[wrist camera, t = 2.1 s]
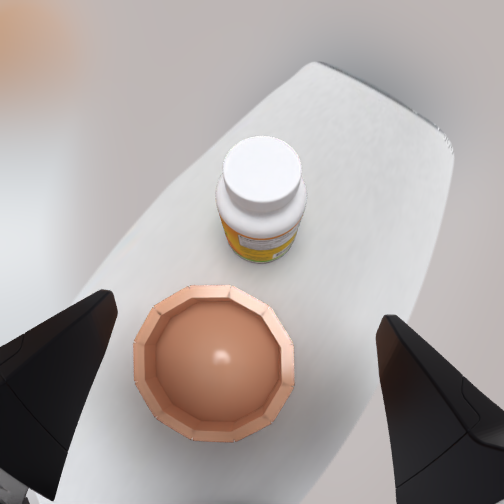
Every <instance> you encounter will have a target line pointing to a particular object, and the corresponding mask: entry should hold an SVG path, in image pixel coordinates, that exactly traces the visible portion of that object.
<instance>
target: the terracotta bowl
mask: <svg viewBox="0 0 504 504" xmlns="http://www.w3.org/2000/svg"><path fill="white" fill-rule="evenodd" d="M154 307H155V308H154ZM154 307H152V309H151V311H150V313H149V314H148V316H147V318H146V320H145V322H144V323H143V325H142V327H141V329H140V331H139V332H138V334H137V336H136V338H135V340H134V341H135V342H136V343H133V355H134V381H136V383H135V385H136V386H137V388H138V390H139V392H140V394H141V395H142V397H143V399H144V400H145V402H146V404H147V406H148V407H149V409H150V411H151V412H152V414H153V415H154V417H157V416H158V417H157V418H156V419H157V420H159V421H160V422H162V423H163V424H165V425H167V426H168V427H170V428H171V429H173V430H175V431H176V432H178V433H180V434H181V435H183V436H185V437H187V438H188V439H190V440H191V439H192V437H193V441H207V442H234V441H235V442H237V441H239V440H241V439H243V438H245V437H247V436H249V435H251V434H253V433H255V432H257V431H258V430H260V429H262V428H264V427H266V426H268V425H270V424H272V423H271V421H272V422H273V421H274V420H275V418H276V417H277V415H278V413H279V412H280V410H281V408H282V407H283V405H284V403H285V402H286V400H287V398H288V397H289V395H290V393H291V392H292V390H293V388H294V387H293V386H294V345H293V344H292V343H293V342H292V340H291V338H290V337H289V335H288V334H287V332H286V330H285V329H284V327H283V326H282V324H281V322H280V321H279V319H278V318H277V316H276V314H275V313H274V311H273V310H272V308H271V307H270V308H269V305H267V304H265V303H264V302H262V301H260V300H258V299H256V298H254V297H252V296H251V295H249V294H247V293H245V292H243V291H242V290H240V289H238V288H236V287H234V286H232V287H231V285H190V287H189V286H187V287H185V288H183V289H182V290H180V291H178V292H177V293H175V294H173V295H172V296H170V297H168V298H166V299H165V300H163V301H161V302H160V303H158V304H156V305H154ZM268 308H269V309H268Z"/></svg>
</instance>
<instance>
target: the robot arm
mask: <svg viewBox="0 0 504 504" xmlns="http://www.w3.org/2000/svg"><path fill="white" fill-rule="evenodd" d="M117 314H118V310H117V306H116V302H115V298H114V295H113V292H112V291H110V290H103V289H101V290H99V291H97V292H95V293H94V294H92V295H90V296H88V297H86V298H85V299H83V300H81V301H79V302H77V303H76V304H74V305H72V306H70V307H69V308H67V309H65V310H63V311H62V312H60V313H58V314H56V315H55V316H53V317H51V318H49V319H48V320H46V321H44V322H43V323H41V324H39V325H37V326H36V327H34V328H32V329H31V330H29V331H27V332H26V333H25V334H22V335H21V336H19V337H17V338H16V339H14V340H12V341H10V342H9V343H7V344H5V345H3V346H1V347H0V504H30V503H29V501H28V498H27V497H26V494H27V491H28V488H30V489H31V490H33V491H35V492H37V493H38V494H40V495H42V496H44V497H45V498H47V499H49V500H51V501H54V499H55V495H56V492H57V488H58V484H59V481H60V477H61V474H62V470H63V467H64V464H65V460H66V457H67V454H68V450H69V447H70V444H71V441H72V438H73V435H74V432H75V429H76V426H77V424H78V421H79V418H80V415H81V413H82V410H83V407H84V404H85V402H86V399H87V397H88V394H89V391H90V389H91V386H92V384H93V381H94V379H95V376H96V374H97V371H98V369H99V367H100V364H101V362H102V359H103V357H104V355H105V352H106V349H107V346H108V343H109V340H110V337H111V333H112V330H113V327H114V324H115V321H116V318H117ZM376 346H377V356H378V367H379V377H380V384H381V389H382V394H383V400H384V405H385V411H386V417H387V423H388V430H389V436H390V444H391V450H392V459H393V467H394V476H395V487H396V502H397V504H504V411H503V410H502V409H501V408H500V407H499V406H497V405H496V404H495V403H493V402H492V401H491V400H490V399H489V398H488V397H486V396H485V395H484V394H483V393H482V392H481V391H479V390H478V389H477V388H476V387H475V386H474V385H473V384H472V383H471V382H470V381H468V380H467V379H466V378H465V377H464V376H463V375H462V374H461V373H460V372H459V371H458V370H457V369H456V368H455V367H454V366H452V365H451V364H450V363H449V362H448V361H447V360H446V359H445V358H444V357H443V356H442V355H440V354H439V353H438V352H437V351H436V350H435V349H434V348H433V347H432V346H431V345H429V344H428V343H427V342H426V341H425V340H424V339H423V338H422V337H421V336H420V335H418V334H417V333H416V332H415V331H414V330H413V329H411V328H410V327H409V326H408V325H407V324H406V323H405V322H404V321H402V320H401V319H400V318H399V317H398V316H397V315H384V316H383V318H382V320H381V323H380V325H379V328H378V330H377V333H376Z"/></svg>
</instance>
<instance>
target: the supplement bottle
mask: <svg viewBox="0 0 504 504" xmlns="http://www.w3.org/2000/svg"><path fill="white" fill-rule="evenodd" d="M306 202H307V188H306V184H305V181H304V179H303V177H302V166H301V161H300V158H299V156H298V155H297V153H296V152H295V150H294V149H293V148H292V147H291V146H290V145H288V144H287V143H285V142H284V141H282V140H280V139H277V138H274V137H269V136H254V137H250V138H247V139H244V140H242V141H240V142H239V143H237V144H236V145H234V146H233V147H232V148H231V149H230V150H229V152H228V153H227V155H226V157H225V160H224V163H223V173H222V174H221V176H220V178H219V180H218V183H217V186H216V204H217V208H218V212H219V215H220V218H221V221H222V225H223V228H224V231H225V235H226V237H227V240H228V243H229V245H230V246H231V248H232V249H233V251H234V252H235V253H236V254H237V255H238V256H240V257H241V258H243V259H245V260H247V261H250V262H254V263H267V262H271V261H274V260H276V259H278V258H280V257H281V256H283V255H284V254H285V253H286V252H287V251H288V250H289V248H290V247H291V245H292V243H293V241H294V238H295V236H296V233H297V230H298V227H299V224H300V222H301V219H302V216H303V213H304V211H305V207H306Z"/></svg>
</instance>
